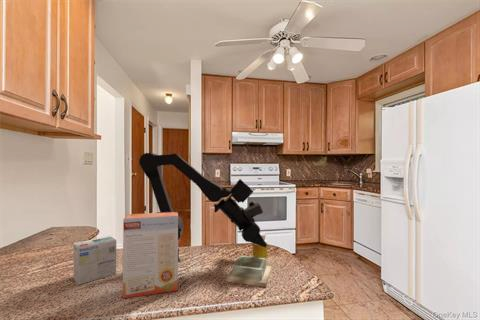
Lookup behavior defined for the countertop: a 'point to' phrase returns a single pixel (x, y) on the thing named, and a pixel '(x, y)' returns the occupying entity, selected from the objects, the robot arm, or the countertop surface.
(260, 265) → the holder
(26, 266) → the countertop surface
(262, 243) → the robot arm
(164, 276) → the cracker box
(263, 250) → the supplement bottle
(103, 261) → the light bulb box
